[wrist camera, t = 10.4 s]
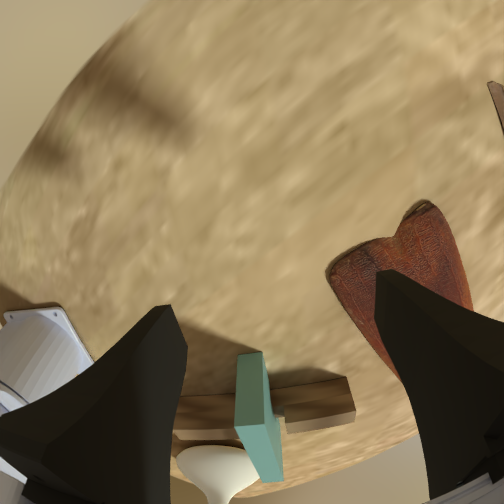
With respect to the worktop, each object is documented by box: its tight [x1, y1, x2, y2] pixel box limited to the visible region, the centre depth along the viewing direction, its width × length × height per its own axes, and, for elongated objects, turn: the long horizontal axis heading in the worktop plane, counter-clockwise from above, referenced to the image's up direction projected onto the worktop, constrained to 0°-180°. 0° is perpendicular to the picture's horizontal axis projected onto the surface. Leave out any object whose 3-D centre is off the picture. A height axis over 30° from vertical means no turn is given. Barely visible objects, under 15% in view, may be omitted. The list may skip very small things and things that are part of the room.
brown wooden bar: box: [173, 377, 356, 440], centre depth 24 cm, size 16×2×4 cm, turn 100°
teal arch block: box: [234, 352, 284, 483], centre depth 23 cm, size 12×2×7 cm, turn 11°
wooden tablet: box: [330, 203, 474, 382], centre depth 23 cm, size 27×10×2 cm, turn 38°
